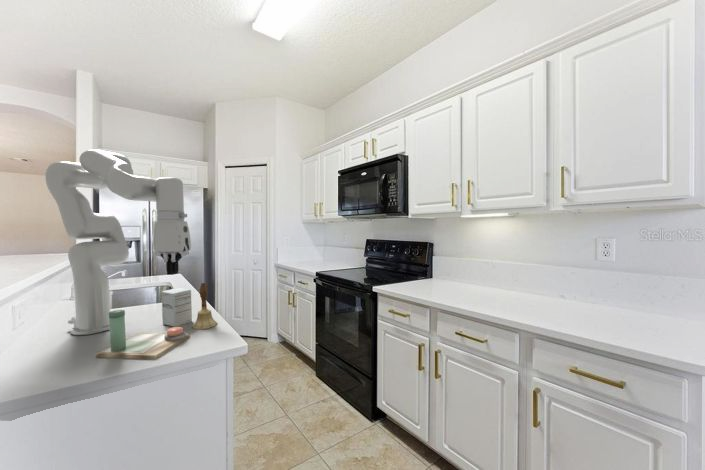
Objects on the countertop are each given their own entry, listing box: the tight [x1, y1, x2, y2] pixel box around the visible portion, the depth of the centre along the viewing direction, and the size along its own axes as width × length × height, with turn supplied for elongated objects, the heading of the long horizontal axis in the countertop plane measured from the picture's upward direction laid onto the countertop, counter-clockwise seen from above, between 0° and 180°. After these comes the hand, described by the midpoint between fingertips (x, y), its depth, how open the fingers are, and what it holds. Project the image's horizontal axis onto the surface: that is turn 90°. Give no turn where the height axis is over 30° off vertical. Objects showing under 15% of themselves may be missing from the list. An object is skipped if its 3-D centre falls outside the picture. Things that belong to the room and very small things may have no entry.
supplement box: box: [161, 287, 193, 328], centre depth 116 cm, size 7×7×13 cm
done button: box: [166, 326, 184, 336], centre depth 99 cm, size 5×5×1 cm
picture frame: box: [95, 330, 191, 360], centre depth 95 cm, size 18×16×2 cm
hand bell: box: [192, 282, 218, 330], centre depth 113 cm, size 8×8×16 cm
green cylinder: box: [108, 309, 127, 352], centre depth 90 cm, size 4×4×11 cm
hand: (172, 273), depth 98 cm, fingers closed
